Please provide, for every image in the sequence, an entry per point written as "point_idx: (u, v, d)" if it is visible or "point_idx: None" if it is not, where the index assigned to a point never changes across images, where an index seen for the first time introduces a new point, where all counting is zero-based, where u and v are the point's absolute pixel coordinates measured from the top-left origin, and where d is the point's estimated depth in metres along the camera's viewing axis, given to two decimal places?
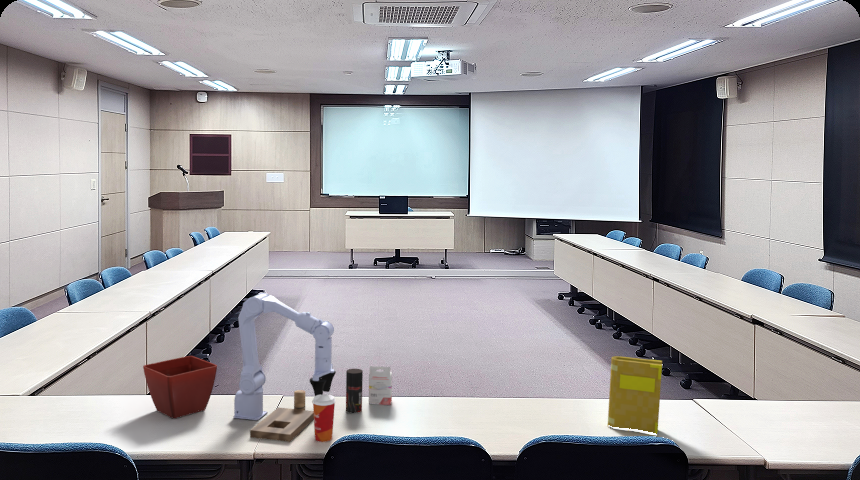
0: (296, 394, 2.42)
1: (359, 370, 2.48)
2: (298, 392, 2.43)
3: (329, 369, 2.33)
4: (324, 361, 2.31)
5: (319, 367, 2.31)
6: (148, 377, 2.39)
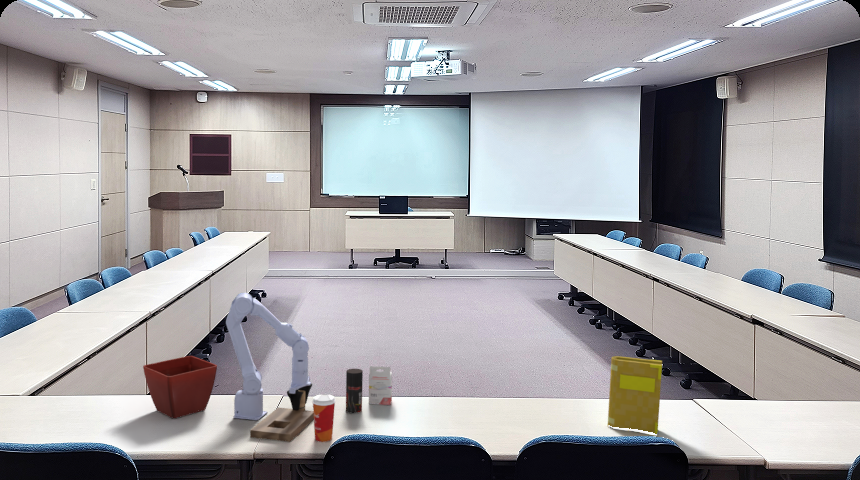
0: None
1: (359, 370, 2.48)
2: None
3: (305, 382, 2.42)
4: (300, 374, 2.40)
5: (295, 380, 2.40)
6: (148, 377, 2.39)
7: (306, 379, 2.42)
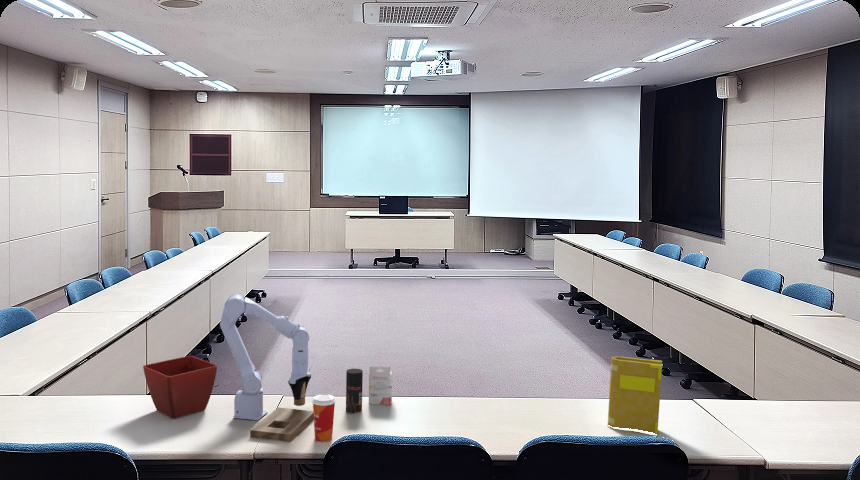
0: None
1: (359, 370, 2.48)
2: None
3: (306, 372, 2.41)
4: (301, 365, 2.40)
5: (295, 370, 2.40)
6: (148, 377, 2.39)
7: (306, 369, 2.41)
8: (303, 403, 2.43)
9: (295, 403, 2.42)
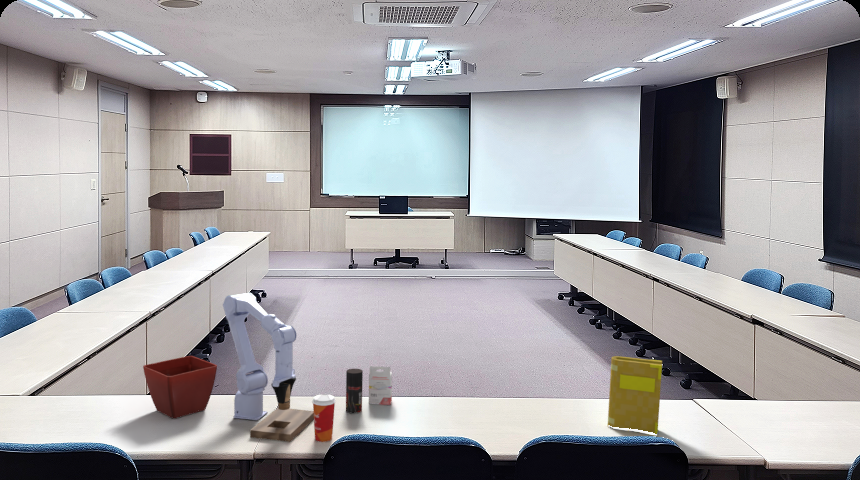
0: None
1: (359, 370, 2.48)
2: None
3: (290, 374, 2.27)
4: (285, 366, 2.25)
5: (279, 372, 2.26)
6: (148, 377, 2.39)
7: (290, 371, 2.27)
8: (288, 407, 2.29)
9: (279, 407, 2.28)
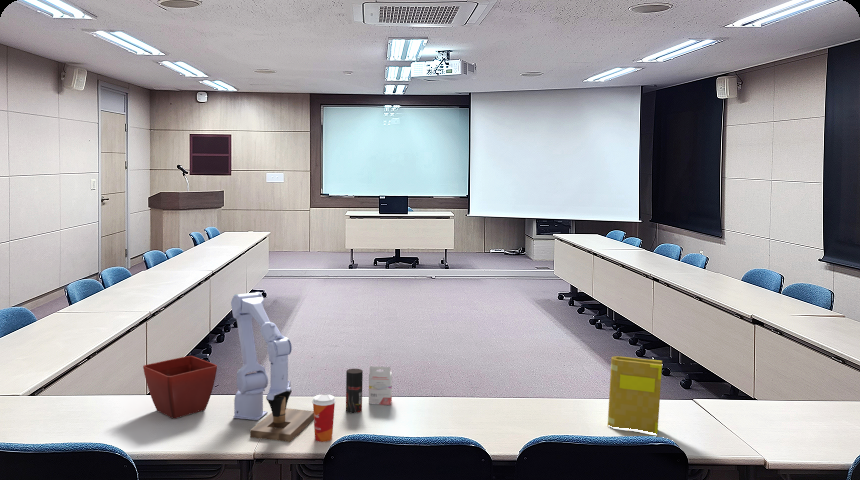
0: None
1: (359, 370, 2.48)
2: None
3: (285, 387, 2.24)
4: (280, 379, 2.22)
5: (274, 385, 2.22)
6: (148, 377, 2.39)
7: (286, 384, 2.24)
8: (283, 420, 2.25)
9: (274, 420, 2.25)
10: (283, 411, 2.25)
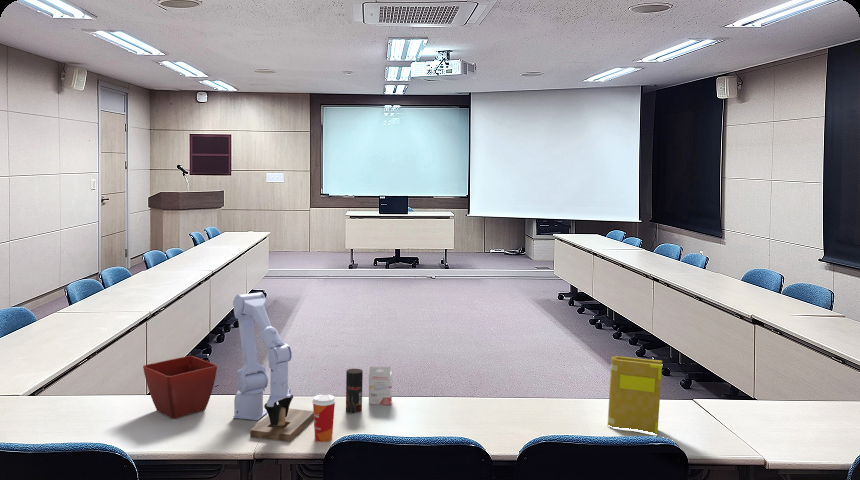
0: None
1: (359, 370, 2.48)
2: None
3: (285, 394, 2.24)
4: (280, 386, 2.22)
5: (274, 392, 2.22)
6: (148, 377, 2.39)
7: (286, 391, 2.24)
8: None
9: None
10: (283, 422, 2.25)
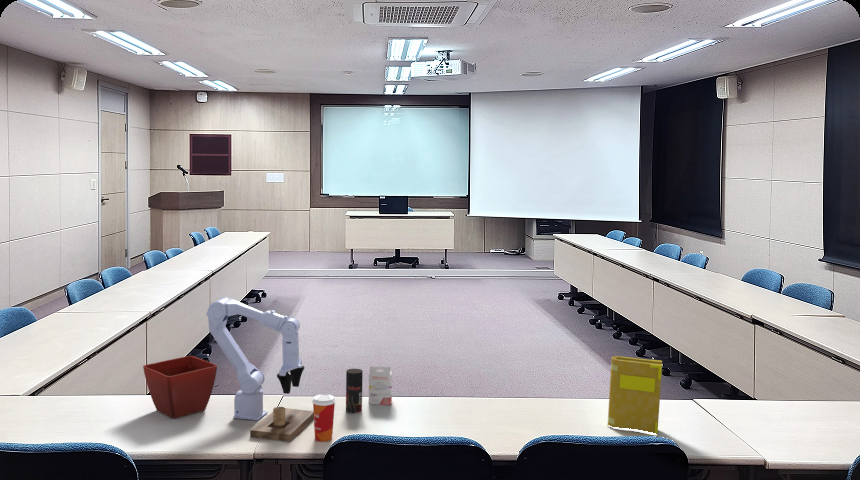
0: (275, 411, 2.24)
1: (359, 370, 2.48)
2: (278, 408, 2.26)
3: (296, 364, 2.37)
4: (291, 356, 2.35)
5: (286, 362, 2.35)
6: (148, 377, 2.39)
7: (297, 361, 2.37)
8: None
9: None
10: (283, 422, 2.25)
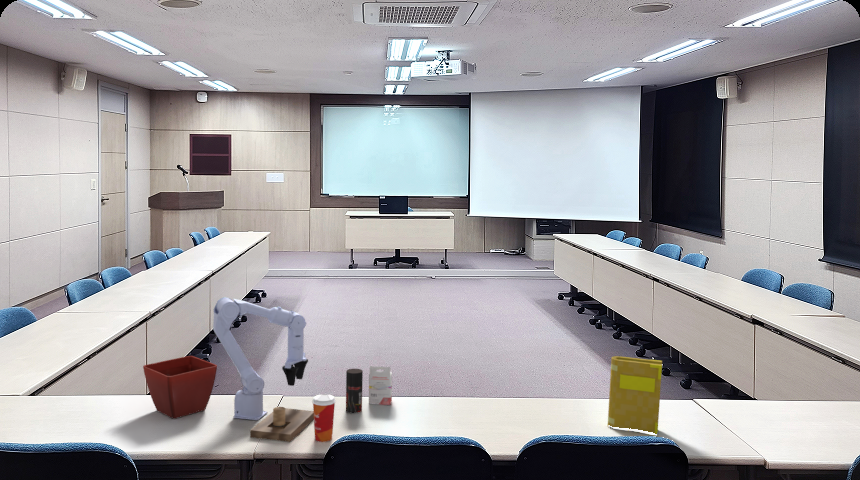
0: (275, 411, 2.24)
1: (359, 370, 2.48)
2: (278, 408, 2.26)
3: (301, 357, 2.44)
4: (296, 350, 2.43)
5: (291, 355, 2.43)
6: (148, 377, 2.39)
7: (302, 354, 2.44)
8: None
9: None
10: (283, 422, 2.25)
